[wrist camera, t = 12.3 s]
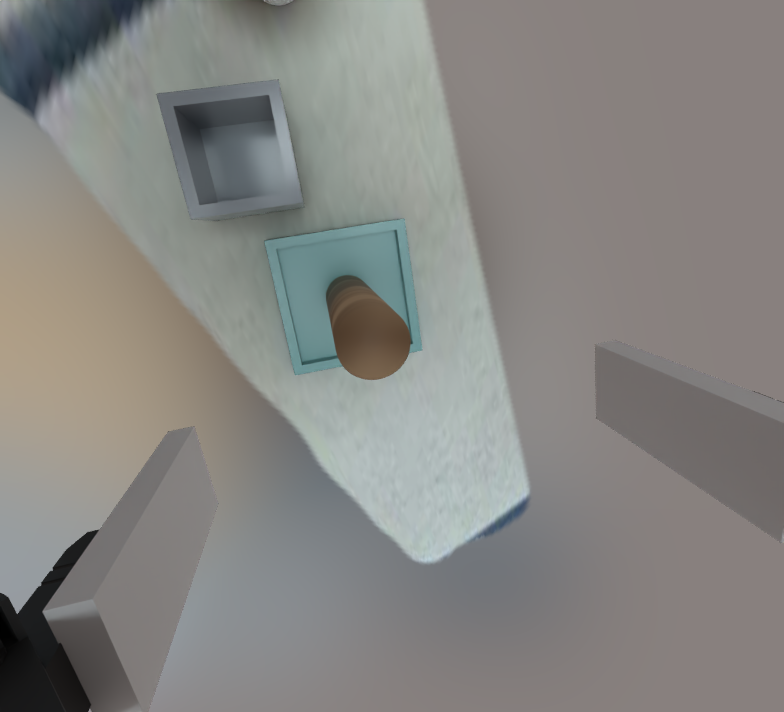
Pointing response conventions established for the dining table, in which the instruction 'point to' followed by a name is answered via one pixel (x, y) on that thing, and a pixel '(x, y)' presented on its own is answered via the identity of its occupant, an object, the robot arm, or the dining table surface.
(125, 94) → the dining table surface
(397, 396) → the dining table surface
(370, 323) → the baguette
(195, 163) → the open box
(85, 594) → the robot arm
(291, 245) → the tray
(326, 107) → the dining table surface
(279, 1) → the soft serve ice cream cone
